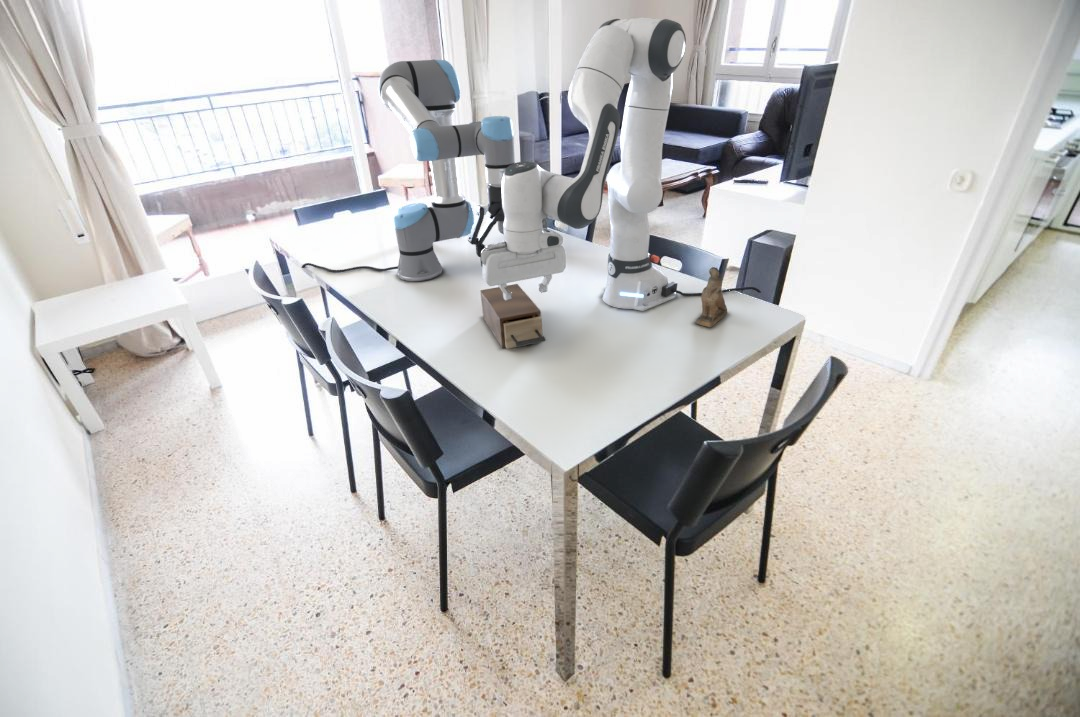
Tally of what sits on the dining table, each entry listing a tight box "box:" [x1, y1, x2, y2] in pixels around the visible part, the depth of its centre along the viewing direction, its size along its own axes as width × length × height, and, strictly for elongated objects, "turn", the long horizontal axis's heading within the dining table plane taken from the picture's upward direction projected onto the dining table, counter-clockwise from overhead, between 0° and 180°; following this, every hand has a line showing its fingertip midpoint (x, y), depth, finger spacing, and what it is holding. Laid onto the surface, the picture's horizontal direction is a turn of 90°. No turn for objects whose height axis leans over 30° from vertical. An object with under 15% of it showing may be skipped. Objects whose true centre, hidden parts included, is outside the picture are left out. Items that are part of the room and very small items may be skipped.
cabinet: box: [479, 283, 542, 349], centre depth 136 cm, size 19×11×9 cm, turn 20°
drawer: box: [503, 315, 546, 350], centre depth 132 cm, size 23×10×7 cm, turn 20°
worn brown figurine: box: [695, 266, 728, 328], centre depth 135 cm, size 12×6×18 cm, turn 136°
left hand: (507, 263), depth 138 cm, fingers open, 13 cm apart
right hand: (525, 295), depth 120 cm, fingers open, 8 cm apart
